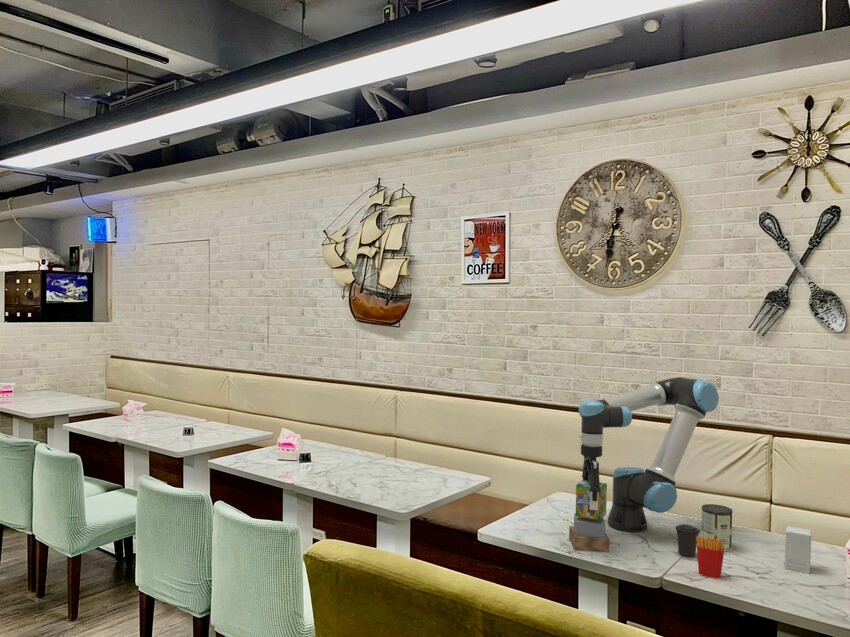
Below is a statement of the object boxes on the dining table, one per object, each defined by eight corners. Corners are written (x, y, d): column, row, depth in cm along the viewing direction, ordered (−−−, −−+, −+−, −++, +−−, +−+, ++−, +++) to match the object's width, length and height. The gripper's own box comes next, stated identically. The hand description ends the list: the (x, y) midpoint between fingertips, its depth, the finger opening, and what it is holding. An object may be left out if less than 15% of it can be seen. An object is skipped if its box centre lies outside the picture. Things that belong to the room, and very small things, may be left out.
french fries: (723, 575, 202) (725, 538, 202) (722, 580, 198) (723, 542, 198) (695, 569, 206) (696, 533, 206) (693, 573, 203) (694, 536, 203)
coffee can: (711, 539, 235) (713, 502, 235) (737, 549, 227) (738, 510, 227) (694, 544, 230) (695, 506, 230) (720, 553, 221) (721, 514, 221)
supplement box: (810, 574, 205) (811, 535, 205) (784, 568, 209) (785, 531, 209) (810, 566, 211) (811, 529, 211) (785, 561, 215) (786, 525, 215)
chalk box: (600, 521, 220) (601, 480, 219) (574, 516, 224) (576, 475, 224) (606, 514, 228) (608, 474, 227) (582, 509, 232) (583, 469, 232)
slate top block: (601, 528, 230) (601, 515, 230) (605, 538, 220) (605, 524, 220) (573, 526, 232) (574, 513, 232) (576, 536, 222) (576, 522, 222)
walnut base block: (601, 541, 232) (602, 527, 232) (608, 553, 220) (609, 539, 220) (569, 539, 233) (569, 525, 233) (574, 551, 221) (574, 537, 221)
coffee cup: (680, 548, 225) (681, 521, 225) (703, 555, 219) (703, 527, 219) (670, 554, 219) (671, 525, 219) (693, 561, 213) (694, 532, 213)
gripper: (575, 437, 238) (573, 494, 238) (587, 451, 214) (586, 514, 214) (595, 438, 238) (593, 495, 238) (610, 452, 214) (608, 515, 214)
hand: (590, 504), depth 226 cm, fingers open, 12 cm apart
